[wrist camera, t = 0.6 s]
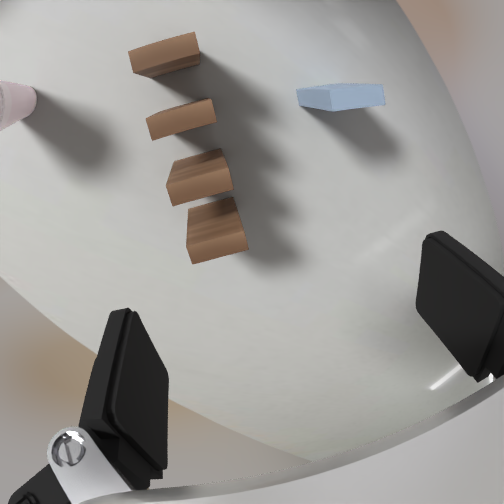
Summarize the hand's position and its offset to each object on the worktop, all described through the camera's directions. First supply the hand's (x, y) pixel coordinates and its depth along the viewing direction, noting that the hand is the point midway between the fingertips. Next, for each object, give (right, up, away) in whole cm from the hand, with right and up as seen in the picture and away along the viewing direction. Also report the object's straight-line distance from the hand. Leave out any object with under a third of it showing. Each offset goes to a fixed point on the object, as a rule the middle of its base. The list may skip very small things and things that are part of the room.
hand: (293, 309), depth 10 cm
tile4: (-7, +11, +23) cm, 26 cm away
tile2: (-9, +20, +17) cm, 28 cm away
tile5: (-6, +6, +25) cm, 27 cm away
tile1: (+6, +18, +21) cm, 28 cm away
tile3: (-8, +16, +20) cm, 27 cm away
